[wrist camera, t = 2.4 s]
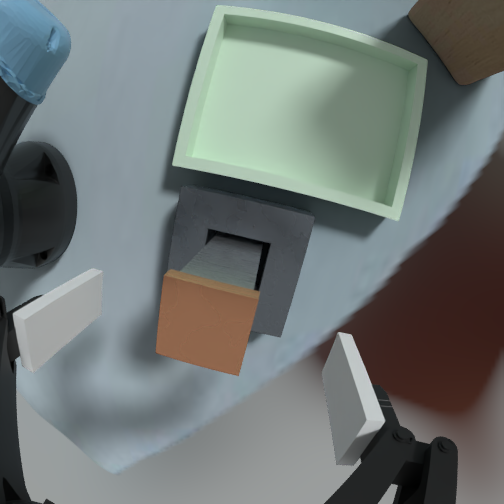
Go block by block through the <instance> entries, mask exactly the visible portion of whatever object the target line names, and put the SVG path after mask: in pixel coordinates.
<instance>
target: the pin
mask: <svg viewBox="0 0 504 504" xmlns="http://www.w3.org/2000/svg"><path fill="white" fill-rule="evenodd" d="M262 246H263V241H259V240H255V239H251V238H247V237H243V236H238V235H234V234H230V233H226V232H222V231H220V232H219V233H218V234H217V235H216V236H215V237H213V238H212V239H211V240H210V241H209V242H208V243H207V244H206V245H205V246H204V247H203V248H202V249H201V250H200V251H199V252H198V253H197V254H196V255H195V256H194V257H193V258H192V260H191V261H190V262H189V263H188V264H187V265H186V266H185V267H184V268H183V269H182V270H181V271H176V270H173V269H170V270H169V271H168V272H167V273H166V274H165V275H164V278H163V286H162V294H161V302H160V311H159V321H158V331H157V342H156V353H157V354H160V355H163V356H166V357H170V358H173V359H176V360H180V361H183V362H187V363H190V364H194V365H197V366H201V367H205V368H208V369H212V370H216V371H220V372H224V373H228V374H232V375H237V376H239V372H240V369H241V365H242V361H243V358H244V354H245V350H246V346H247V343H248V339H249V335H250V331H251V327H252V324H253V320H254V316H255V312H256V308H257V304H258V301H259V295H260V291H256V290H254V286H255V281H256V276H257V271H258V266H259V261H260V256H261V251H262Z"/></svg>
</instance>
